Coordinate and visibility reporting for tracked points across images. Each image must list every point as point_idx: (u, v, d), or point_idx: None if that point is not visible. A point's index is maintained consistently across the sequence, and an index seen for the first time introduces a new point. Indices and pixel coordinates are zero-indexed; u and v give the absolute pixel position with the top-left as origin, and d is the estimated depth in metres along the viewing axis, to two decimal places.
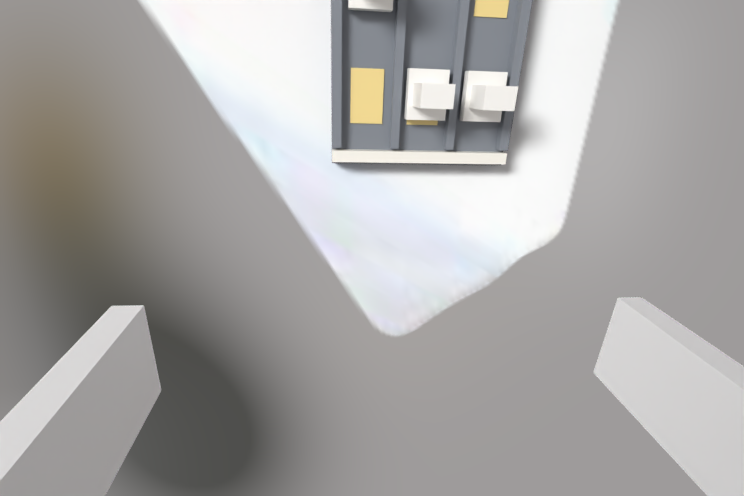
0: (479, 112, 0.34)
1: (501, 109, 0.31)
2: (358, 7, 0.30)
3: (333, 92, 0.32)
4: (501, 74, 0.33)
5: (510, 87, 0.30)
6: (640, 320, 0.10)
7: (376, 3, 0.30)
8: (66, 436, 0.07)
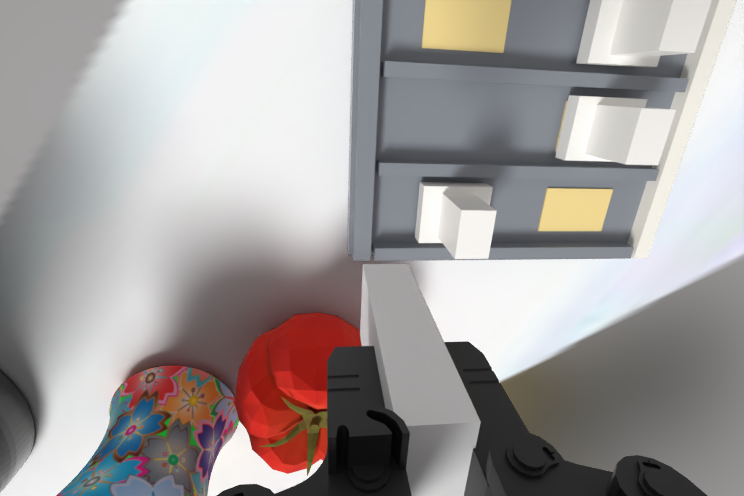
0: None
1: (705, 13, 0.17)
2: None
3: (568, 257, 0.25)
4: None
5: None
6: (389, 282, 0.12)
7: None
8: None
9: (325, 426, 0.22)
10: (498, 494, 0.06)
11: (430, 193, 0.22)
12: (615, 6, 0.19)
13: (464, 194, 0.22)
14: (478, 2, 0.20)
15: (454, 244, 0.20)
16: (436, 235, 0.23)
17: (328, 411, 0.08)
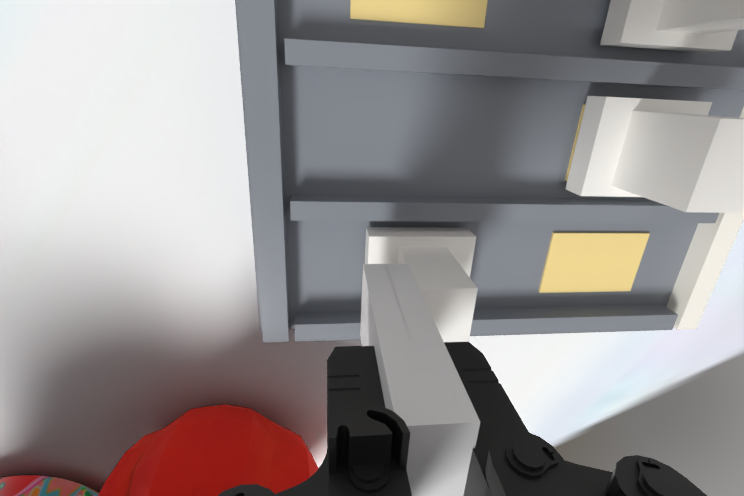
0: None
1: None
2: None
3: (583, 330, 0.17)
4: None
5: None
6: (389, 282, 0.12)
7: (462, 268, 0.15)
8: None
9: None
10: (498, 494, 0.06)
11: (379, 247, 0.14)
12: None
13: (432, 248, 0.14)
14: None
15: None
16: None
17: (329, 411, 0.08)
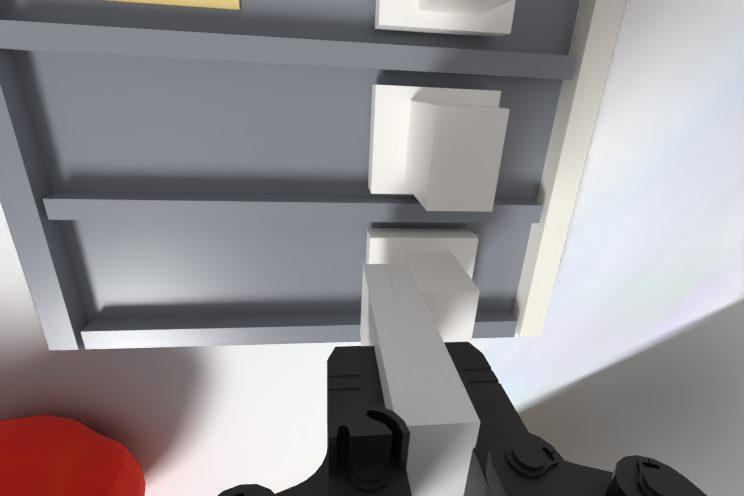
0: None
1: None
2: None
3: None
4: None
5: None
6: (389, 282, 0.12)
7: (464, 269, 0.15)
8: None
9: None
10: (498, 494, 0.06)
11: (380, 248, 0.14)
12: None
13: (433, 250, 0.14)
14: None
15: None
16: None
17: (328, 411, 0.08)
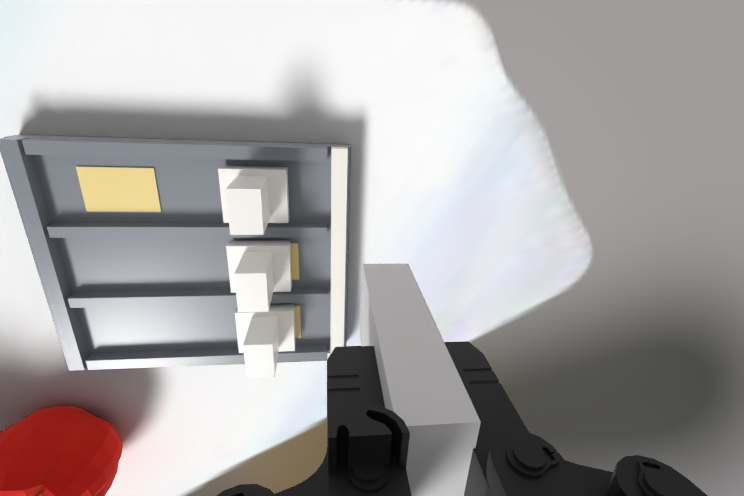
0: (275, 202, 0.24)
1: (260, 208, 0.21)
2: (293, 342, 0.29)
3: None
4: (222, 177, 0.23)
5: (228, 200, 0.21)
6: (389, 282, 0.12)
7: (288, 326, 0.28)
8: None
9: None
10: (498, 494, 0.06)
11: (241, 317, 0.27)
12: None
13: (268, 318, 0.27)
14: (126, 177, 0.24)
15: (246, 366, 0.25)
16: None
17: (328, 411, 0.08)
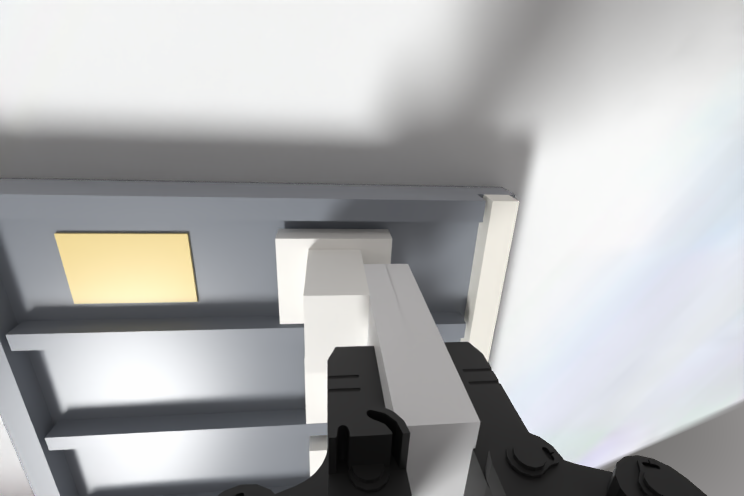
0: None
1: (364, 327, 0.11)
2: None
3: None
4: (281, 252, 0.13)
5: (307, 315, 0.11)
6: (389, 282, 0.12)
7: None
8: None
9: None
10: (498, 494, 0.06)
11: (318, 457, 0.17)
12: (299, 261, 0.14)
13: None
14: (141, 248, 0.14)
15: None
16: None
17: (328, 411, 0.08)
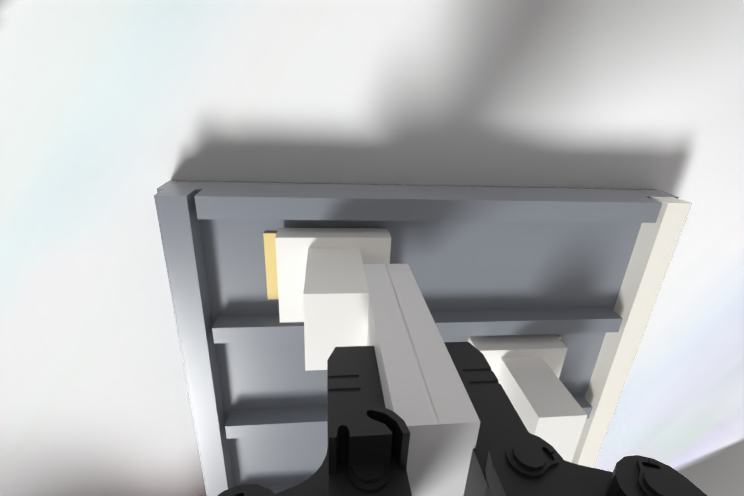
0: None
1: (364, 325, 0.11)
2: None
3: None
4: (281, 251, 0.13)
5: (307, 313, 0.11)
6: (389, 282, 0.12)
7: None
8: None
9: None
10: (498, 494, 0.06)
11: None
12: (299, 260, 0.14)
13: None
14: None
15: None
16: None
17: (328, 411, 0.08)
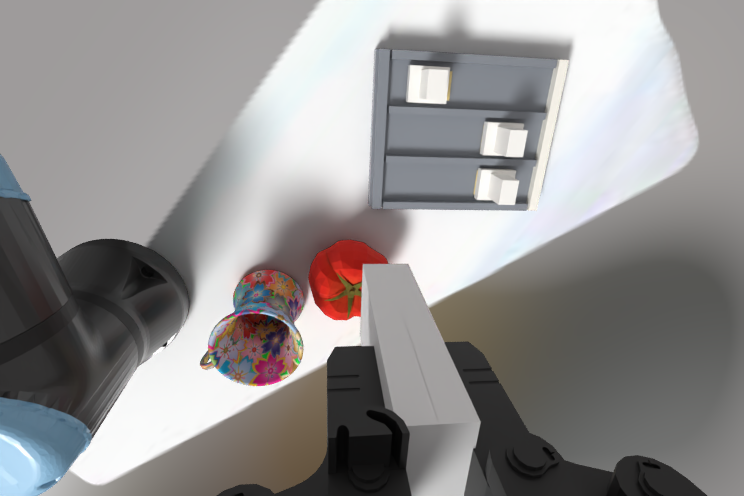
0: None
1: (445, 82, 0.36)
2: None
3: (490, 209, 0.45)
4: (411, 71, 0.38)
5: (429, 76, 0.36)
6: (389, 282, 0.12)
7: None
8: None
9: (357, 294, 0.43)
10: (498, 494, 0.06)
11: (484, 173, 0.43)
12: (417, 75, 0.38)
13: (501, 174, 0.43)
14: None
15: (498, 197, 0.41)
16: (486, 196, 0.44)
17: (328, 411, 0.08)
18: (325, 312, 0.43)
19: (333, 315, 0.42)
